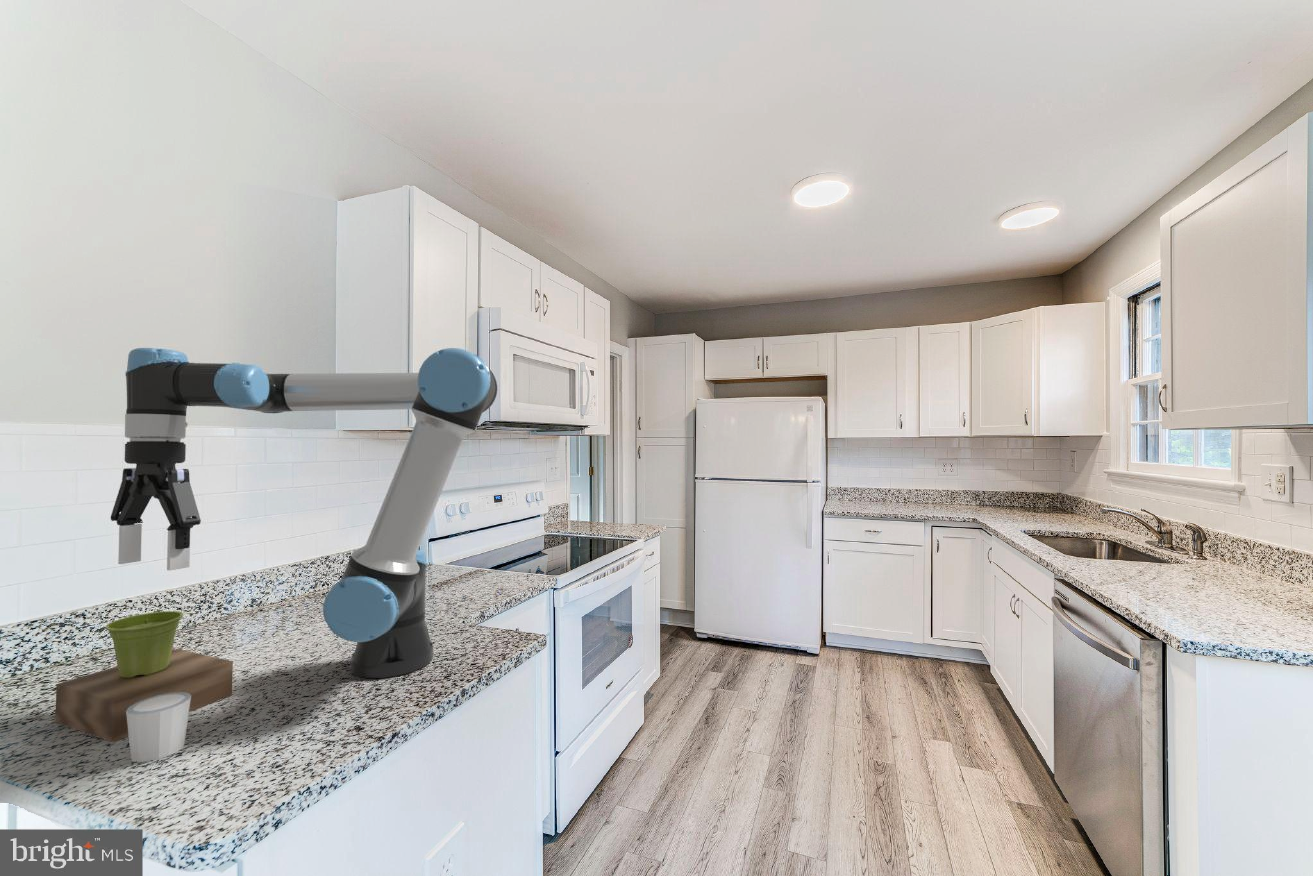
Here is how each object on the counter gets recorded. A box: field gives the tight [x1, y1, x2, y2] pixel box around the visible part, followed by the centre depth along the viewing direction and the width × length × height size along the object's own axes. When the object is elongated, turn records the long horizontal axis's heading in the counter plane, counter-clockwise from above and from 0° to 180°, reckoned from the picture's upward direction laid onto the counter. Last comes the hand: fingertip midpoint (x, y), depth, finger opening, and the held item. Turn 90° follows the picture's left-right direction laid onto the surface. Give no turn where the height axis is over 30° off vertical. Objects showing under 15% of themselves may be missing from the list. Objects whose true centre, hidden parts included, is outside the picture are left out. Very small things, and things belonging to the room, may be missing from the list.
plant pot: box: [104, 610, 184, 678], centre depth 89 cm, size 9×9×9 cm
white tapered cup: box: [126, 692, 191, 763], centre depth 76 cm, size 7×7×7 cm
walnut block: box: [54, 648, 234, 743], centre depth 89 cm, size 16×16×6 cm
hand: (153, 565), depth 89 cm, fingers open, 13 cm apart
